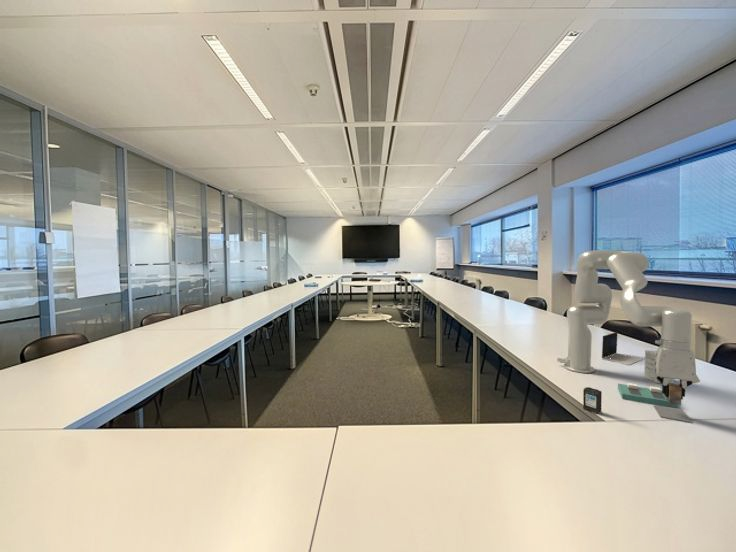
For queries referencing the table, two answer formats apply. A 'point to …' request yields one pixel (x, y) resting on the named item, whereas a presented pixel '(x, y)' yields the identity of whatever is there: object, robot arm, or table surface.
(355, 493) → the table surface
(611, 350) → the laptop
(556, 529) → the table surface
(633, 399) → the switch panel
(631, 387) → the switch tab left
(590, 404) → the ink cartridge
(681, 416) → the mat
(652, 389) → the switch tab right
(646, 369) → the supplement box
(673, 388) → the brown cardboard box
